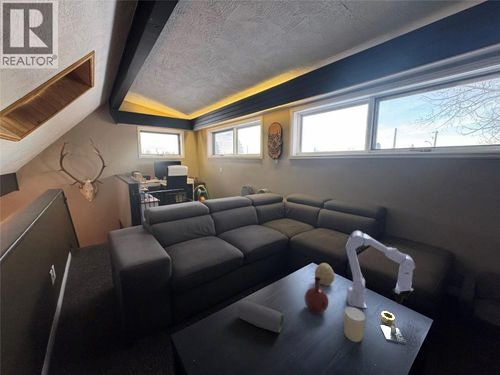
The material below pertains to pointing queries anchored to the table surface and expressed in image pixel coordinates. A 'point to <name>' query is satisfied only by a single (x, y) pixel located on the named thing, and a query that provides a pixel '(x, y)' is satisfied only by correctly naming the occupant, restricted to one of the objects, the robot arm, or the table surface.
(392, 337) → the shaft block
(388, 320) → the collar
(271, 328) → the bluetooth speaker
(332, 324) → the table surface
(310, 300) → the round-bottom flask
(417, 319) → the table surface
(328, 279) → the fossilized egg
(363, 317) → the coffee cup
